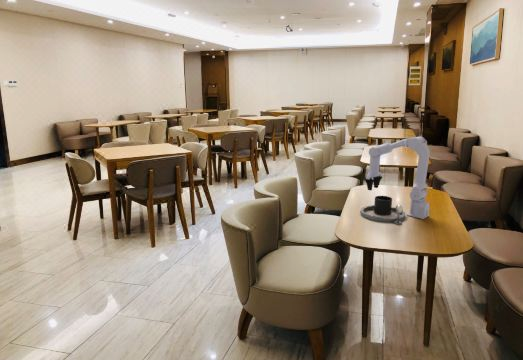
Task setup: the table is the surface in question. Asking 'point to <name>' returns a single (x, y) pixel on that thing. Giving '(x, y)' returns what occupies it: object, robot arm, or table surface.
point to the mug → (382, 205)
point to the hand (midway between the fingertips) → (372, 188)
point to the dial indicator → (398, 214)
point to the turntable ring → (380, 217)
